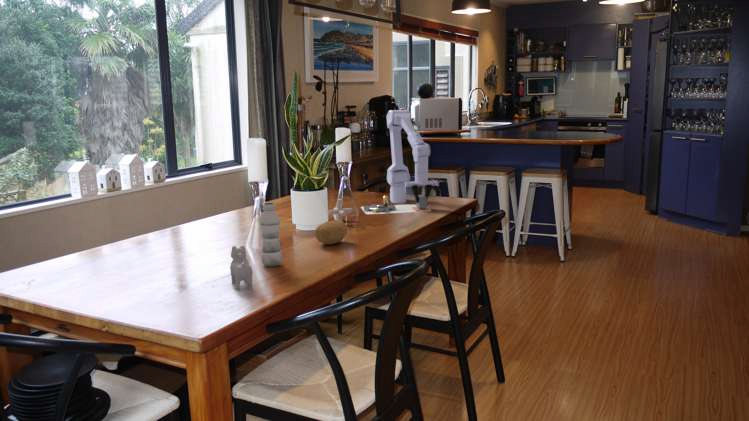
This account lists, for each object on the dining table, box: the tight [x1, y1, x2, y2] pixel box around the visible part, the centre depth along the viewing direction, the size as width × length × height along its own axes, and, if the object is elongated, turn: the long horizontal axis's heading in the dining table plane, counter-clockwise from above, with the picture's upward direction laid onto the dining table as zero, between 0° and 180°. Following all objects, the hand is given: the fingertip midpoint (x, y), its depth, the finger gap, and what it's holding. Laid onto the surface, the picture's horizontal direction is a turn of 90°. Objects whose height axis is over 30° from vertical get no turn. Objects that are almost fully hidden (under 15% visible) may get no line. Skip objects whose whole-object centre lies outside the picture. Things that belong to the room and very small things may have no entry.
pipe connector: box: [327, 198, 353, 221], centre depth 253 cm, size 10×10×10 cm
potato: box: [314, 219, 348, 246], centre depth 221 cm, size 10×14×8 cm
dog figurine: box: [229, 245, 254, 291], centre depth 177 cm, size 5×13×11 cm, turn 23°
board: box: [360, 203, 432, 215], centre depth 276 cm, size 17×29×2 cm, turn 100°
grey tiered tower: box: [258, 202, 283, 267], centre depth 194 cm, size 6×7×20 cm
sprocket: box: [363, 195, 396, 214], centre depth 274 cm, size 14×14×6 cm
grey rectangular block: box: [415, 194, 428, 209], centre depth 273 cm, size 6×4×5 cm, turn 10°
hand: (421, 202), depth 273 cm, fingers closed on grey rectangular block, 3 cm apart
